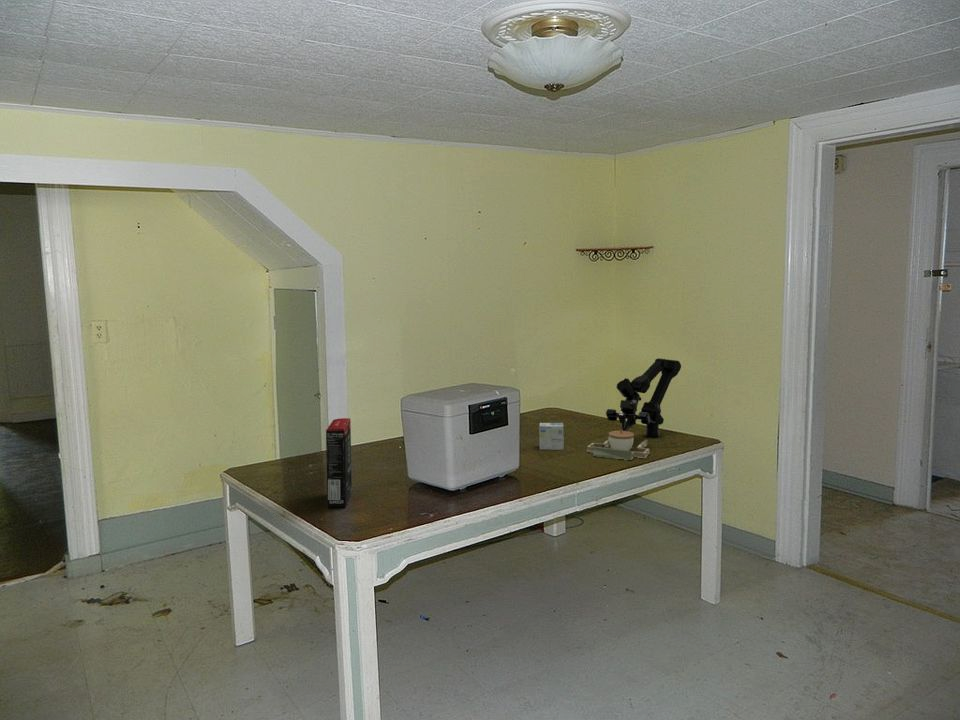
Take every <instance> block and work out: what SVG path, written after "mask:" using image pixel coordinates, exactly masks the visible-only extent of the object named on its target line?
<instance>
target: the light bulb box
mask: <svg viewBox="0 0 960 720" xmlns="http://www.w3.org/2000/svg"><path fill="white" fill-rule="evenodd" d="M538 432H539V434H538V435H539V439H538V440H539V450H548V451H549V450H551V451H552V450H555V451H556V450H557V451H559V450H560V451H561V450H562V451H564V446H565V443H564V441H565V439H564V437H565V436H564V434H565V433H564V432H565V431H564V422H539V430H538Z"/></svg>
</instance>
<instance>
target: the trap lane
mask: <svg viewBox="0 0 960 720" xmlns="http://www.w3.org/2000/svg"><path fill="white" fill-rule="evenodd" d="M609 445H610V444H609V438H608V439H607V440H605V441H604V442H603V443H600V442H592V443H590V444H588V445H587V446H586V453H587V452H590V453H589V454H592V455H593V456H596V457H595V458H601V457H605V458H604V459H610V458H615V459H614V460H618V459H624V460H623V461H627V460H632V459H633V458H634V457H638V458H637V459H639V458H646V457H647V456H648V455H649V454H650V448H646V447H647V446H648V439H644V440H643V441H642V442H641V443H640V444H639V445H637V447H635V451H632V450H629V451H628V450H619V449H612V448H611V447H610V446H609ZM606 447H607V448H606ZM608 447H610V448H608ZM650 455H651V454H650ZM650 455H649V456H650ZM593 456H592V457H593ZM649 456H648V457H649ZM648 457H647V458H648ZM647 458H646V459H647ZM634 459H635V458H634ZM632 461H633V460H632Z"/></svg>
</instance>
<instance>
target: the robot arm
mask: <svg viewBox="0 0 960 720" xmlns="http://www.w3.org/2000/svg"><path fill="white" fill-rule="evenodd" d="M681 368H682V364H681V362H680V361H679V360H675V359H668V358H667V359H666V358H659V357H658V358H656V359H655V360H654V362H653V363H652V364H651V365H650V367H648V368H647V369H646V370H645V371H644V372H643V373H642V374H641V375H639V376H636V377H635V378H633V379H632V380H631V381H630V379H629V378H626V377H625V378H624V379H623V380H620V381H619V382H617V384H616V389H617V391H618V392H619V393H620V395H621V396H622V397H623V398H625V399H622V400H620V402H619V403H620V405H619V407H620V412H617V409H613V408H608V409H607V410H606V412H605V414H606V415H605V416H606V418H607V421H610V422H611V421H612V422H616V421H617V420H619V423H620V424H621V427H622V428H621V430H623V431H628V430H629V429H630V428H631V427H633V426H634V425H637V420H640V422H641V424H642V425H645V434H643V437H647V438H659V437H660V436H661V433H659V430H660V427H659V426H660V425H662V424H664V418H663V415H662V414H661V413H662V409H661V408H662V407H661V404H662V401H663V399H664V398H665V395H666V393H667V391H668V388H669V386H670V384H671V382H672V379H674V378H676V377H677V375H678V374H679V372H680V371H681ZM660 373H661V375H660V377H659V380H658V383H657V384H656V386H655V390H654V391H653V394H652V395H651V398H650V400H649V401H648V402H647V401H645V402H643V405H642V407H641V409H640V410H641V411H639V413H638V414H637V413H636V412H637V411H638V405H639V402H640V401H642V397H641V395H640V394H645V393H648V390H649V389H650V387H651V383H652V381H653V380H654V379H655V378H656V377H657V376H658V375H659V374H660ZM639 393H640V394H639Z"/></svg>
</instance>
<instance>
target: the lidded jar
mask: <svg viewBox="0 0 960 720" xmlns="http://www.w3.org/2000/svg"><path fill="white" fill-rule="evenodd" d="M634 436H635V433H634V432H631V431H628V430H627V431H623V430H622V429H620V430H612V431H609V432H608V439H609V444H610V446H609V447H610V449H619V450H628V451H631V449H632V447H633V444H634Z"/></svg>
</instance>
